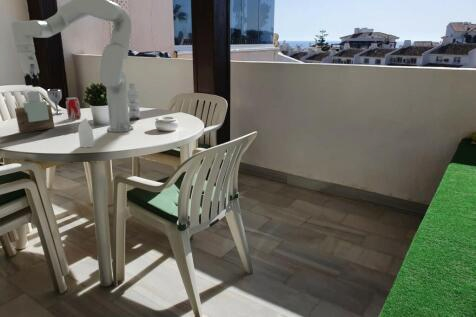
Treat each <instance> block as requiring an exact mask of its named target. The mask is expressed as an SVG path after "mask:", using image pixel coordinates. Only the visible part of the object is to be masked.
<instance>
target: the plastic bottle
mask: <svg viewBox="0 0 476 317" xmlns="http://www.w3.org/2000/svg"><path fill="white" fill-rule="evenodd" d="M136 86H137V85H136V83H128V90H127V101H128V112H129V119H134V120H135V119H138V118H140V117H141V111H140V106H139V90H138V89H137V88H136Z"/></svg>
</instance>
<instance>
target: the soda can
mask: <svg viewBox="0 0 476 317" xmlns="http://www.w3.org/2000/svg"><path fill="white" fill-rule="evenodd" d="M65 107H66V113H67V117H68V119H70V120H80V118H81V117H82V113H81V107H80V101H79V99H78V97H76V96H74V97H66V100H65Z"/></svg>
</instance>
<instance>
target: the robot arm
mask: <svg viewBox="0 0 476 317" xmlns="http://www.w3.org/2000/svg"><path fill="white" fill-rule="evenodd" d="M88 16H92V17H94V18H97V19H99V20H103V21H107V22H109V23H112V25H113V26H112V31H111V34H110V35H111V37H110V42H109V44H107V45H106V46H105V47H104V49H103V51H102V54H101V61H100V66H99V76H98V77H99V82H100V83H101V84H102V85H103V86H104V87H105V88H106V99H107V100H106V101H107V109H108V110H107V111H108V117H109V119H108V120H109V126H108V127H107V132H111V133H124V132H128V131H129V132H130V131H132V130H134V126H133V125H132V124H130V117H129V101H128V95H127V92H128V90H127V75H126V72H125V70H124V69H123V65H124V63H125V62H126V61H127V60H128V58H129V50H130V41H131V36H132V35H131V34H132V28H133V27H132V20H131V17H130V15H129V13H128V12H127V11H126V10H125V8H123V7H122V6H121V5H120V4H118V3H116V2H113V1H111V0H69V1H67V2H66V3H63V4H61V5H59V6H58V8H57V12H55V14H54V15H52V16H50V17H47V19H44V20H40V19H38V20H37V19H33V20H32V19H31V20H14V21H12V22H11V23H10V24H11V29H12V30H11V31H12V35H13V36H12V37H13V39H14V40H13V41H14V44H15V50H16V53H18V55H19V60H20V61H19V62H20V66H21V70H22V73H23V79H24V83H25V86H26V87H27V86H28V87H29V86H31V87H32V88H39V87H41V84H40V80H39V79H40V78H39V74H40V69H39V64H38V60H37V57H36V54H35V53H36V49H35V43H34V38H41V39H42V38H47V39H48V38H51V37H52V36H55V35H57V34H59V33H60V32H63V31H64V30H66V29H68V27H70V26H71V25H72V24H74V23H77V22H78V21H80V20H82V19H84V18H86V17H88Z"/></svg>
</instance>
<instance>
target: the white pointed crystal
mask: <svg viewBox="0 0 476 317" xmlns="http://www.w3.org/2000/svg"><path fill="white" fill-rule="evenodd" d="M77 131H78V139H79V140H78V141H79V146H80V148H82V147H83V149H85V148H86V149H87V147H89V148H92V147H94V146H95V138H94V133H93V127H92V126H91V125H90V124H89V121H88V119H87V118H83V120H81V121H80V123H79V124H78V128H77Z"/></svg>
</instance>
